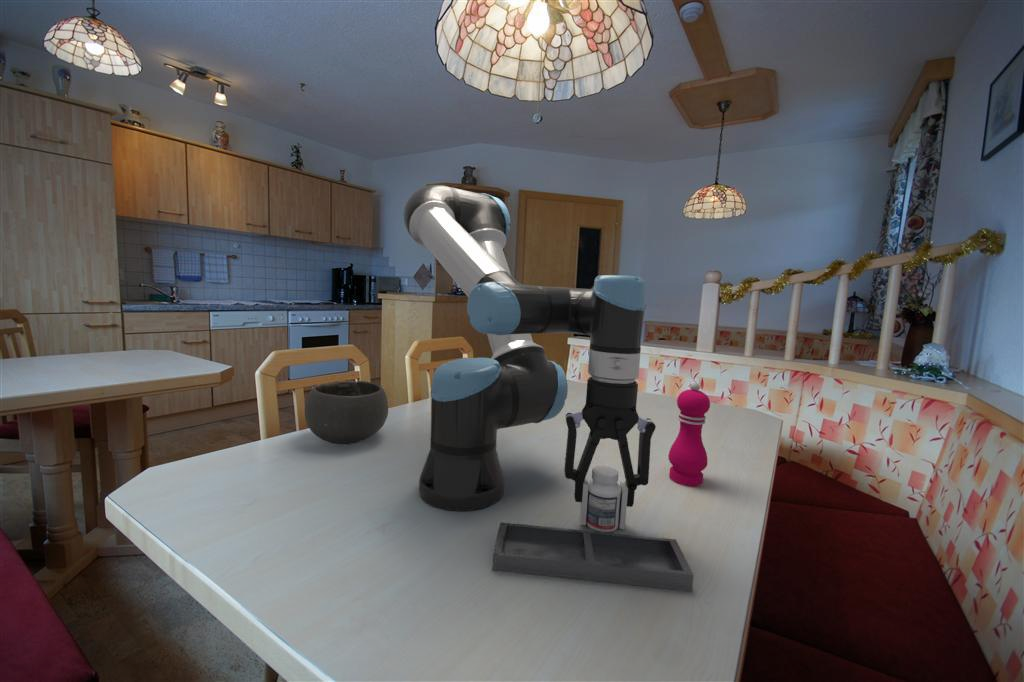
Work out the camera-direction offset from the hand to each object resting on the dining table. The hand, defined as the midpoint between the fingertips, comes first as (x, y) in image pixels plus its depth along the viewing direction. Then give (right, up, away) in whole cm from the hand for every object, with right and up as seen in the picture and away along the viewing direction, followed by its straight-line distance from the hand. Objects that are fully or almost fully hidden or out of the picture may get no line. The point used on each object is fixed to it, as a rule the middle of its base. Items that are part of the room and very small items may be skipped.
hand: (601, 522), depth 66 cm
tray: (-4, -1, -10) cm, 10 cm away
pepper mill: (+21, +1, +18) cm, 28 cm away
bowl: (-52, +5, +31) cm, 61 cm away
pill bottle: (0, -1, 0) cm, 0 cm away
